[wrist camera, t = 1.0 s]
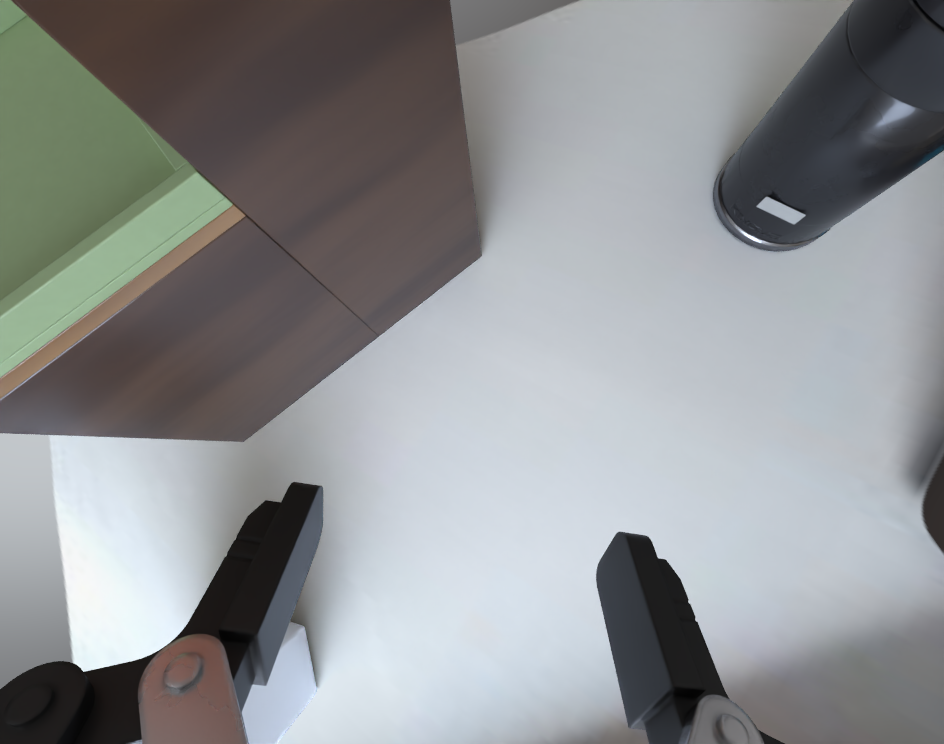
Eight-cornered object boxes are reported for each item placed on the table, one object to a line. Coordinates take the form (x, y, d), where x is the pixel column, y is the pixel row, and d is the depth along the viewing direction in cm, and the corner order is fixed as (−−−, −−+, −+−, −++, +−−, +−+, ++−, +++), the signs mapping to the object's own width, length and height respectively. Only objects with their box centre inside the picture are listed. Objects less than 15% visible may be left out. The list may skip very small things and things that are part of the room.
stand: (482, 256, 36) (361, -727, 6) (243, 442, 35) (-1451, 382, 5) (386, 146, 39) (-34, -919, 9) (160, 316, 38) (-1265, -243, 7)
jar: (270, 583, 33) (139, 657, 21) (341, 667, 31) (243, 797, 20) (183, 674, 32) (-2, 803, 20) (252, 765, 31) (95, 960, 19)
